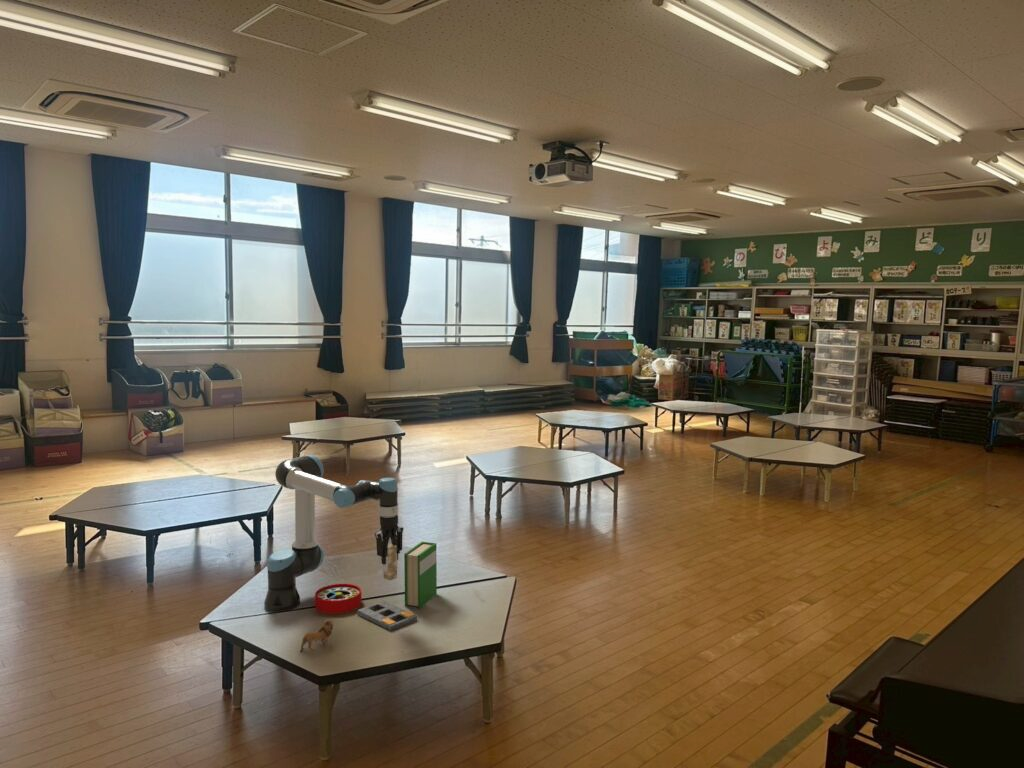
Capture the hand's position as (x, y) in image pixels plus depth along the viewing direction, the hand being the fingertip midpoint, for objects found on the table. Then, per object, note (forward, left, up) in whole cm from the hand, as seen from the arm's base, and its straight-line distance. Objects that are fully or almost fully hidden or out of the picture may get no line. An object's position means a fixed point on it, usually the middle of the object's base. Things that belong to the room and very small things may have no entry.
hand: (390, 569), depth 290 cm
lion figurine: (-35, +1, -22) cm, 41 cm away
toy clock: (-7, +29, -22) cm, 37 cm away
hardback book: (+22, +6, -22) cm, 31 cm away
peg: (0, 0, -4) cm, 4 cm away
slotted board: (0, +2, -22) cm, 22 cm away
